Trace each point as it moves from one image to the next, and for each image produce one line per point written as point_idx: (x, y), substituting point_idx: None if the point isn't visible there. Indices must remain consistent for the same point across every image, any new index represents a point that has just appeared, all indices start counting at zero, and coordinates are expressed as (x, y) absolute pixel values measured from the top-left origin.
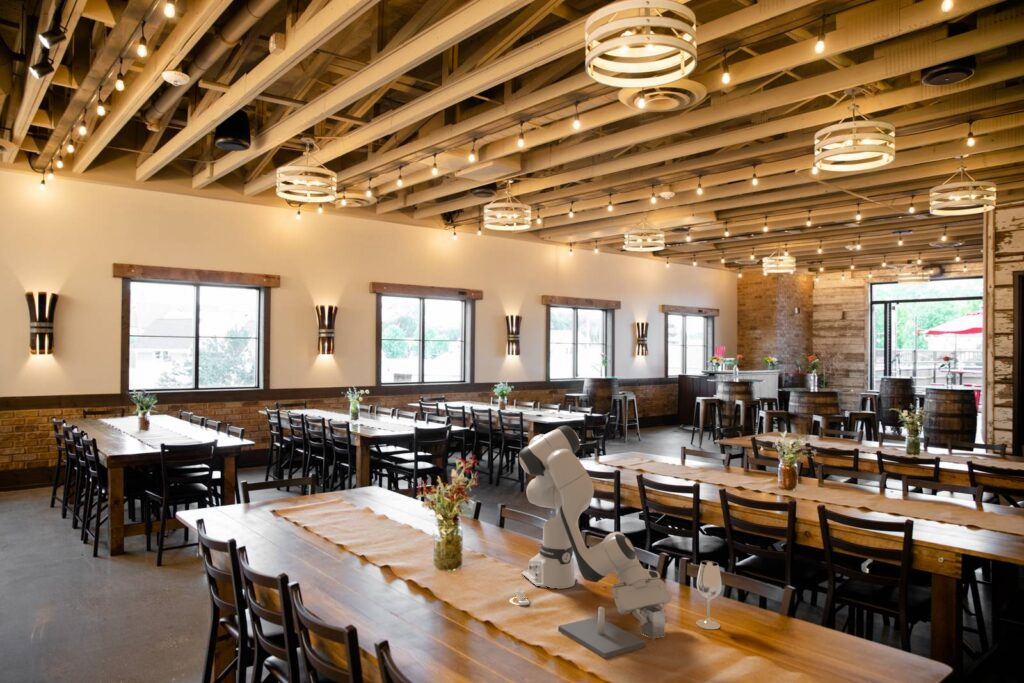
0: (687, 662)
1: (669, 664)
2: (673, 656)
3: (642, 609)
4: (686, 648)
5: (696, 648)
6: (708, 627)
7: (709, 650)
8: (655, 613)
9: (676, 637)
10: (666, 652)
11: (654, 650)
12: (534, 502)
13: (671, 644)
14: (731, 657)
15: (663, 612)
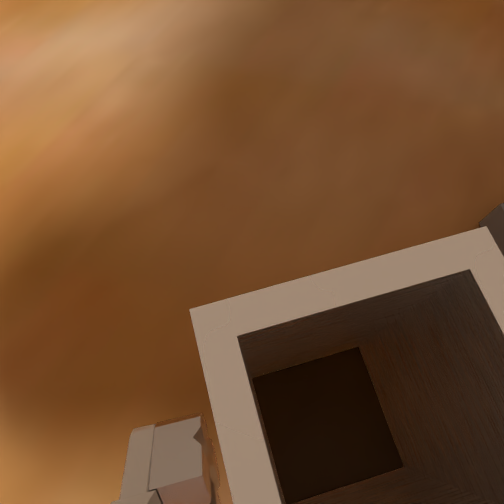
0: (287, 8)
1: (403, 7)
2: (332, 74)
3: None
4: (181, 146)
5: (114, 134)
6: None
7: (53, 97)
8: (429, 243)
9: (132, 326)
10: (352, 123)
11: (425, 162)
12: None
13: (251, 219)
14: (3, 13)
15: (227, 306)
